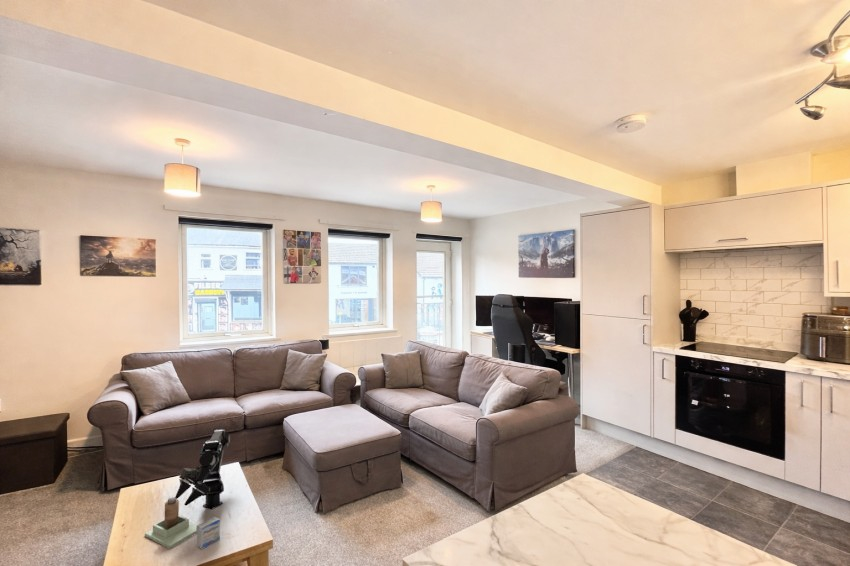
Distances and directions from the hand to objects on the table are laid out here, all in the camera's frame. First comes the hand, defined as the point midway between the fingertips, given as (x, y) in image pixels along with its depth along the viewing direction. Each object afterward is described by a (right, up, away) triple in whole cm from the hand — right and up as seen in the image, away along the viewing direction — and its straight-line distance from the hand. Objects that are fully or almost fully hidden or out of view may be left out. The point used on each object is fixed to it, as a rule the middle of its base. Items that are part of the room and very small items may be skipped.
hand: (180, 501), depth 178 cm
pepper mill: (-2, -10, -3) cm, 11 cm away
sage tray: (0, -11, -4) cm, 12 cm away
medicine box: (+18, -12, -10) cm, 24 cm away
